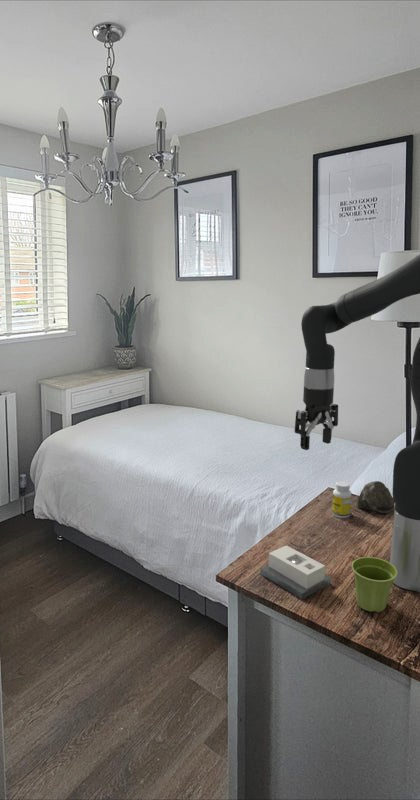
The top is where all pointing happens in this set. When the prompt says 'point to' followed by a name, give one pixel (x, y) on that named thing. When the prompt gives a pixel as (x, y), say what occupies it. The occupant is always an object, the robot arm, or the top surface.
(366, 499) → the fossil
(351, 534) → the top surface
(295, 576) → the white block with recesses
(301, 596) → the base plate
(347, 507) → the supplement bottle
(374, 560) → the plant pot
